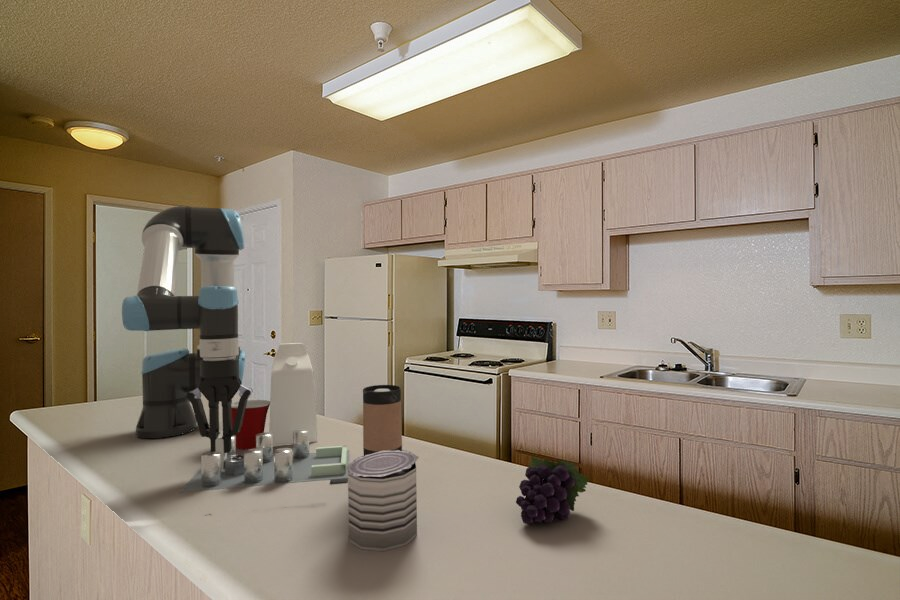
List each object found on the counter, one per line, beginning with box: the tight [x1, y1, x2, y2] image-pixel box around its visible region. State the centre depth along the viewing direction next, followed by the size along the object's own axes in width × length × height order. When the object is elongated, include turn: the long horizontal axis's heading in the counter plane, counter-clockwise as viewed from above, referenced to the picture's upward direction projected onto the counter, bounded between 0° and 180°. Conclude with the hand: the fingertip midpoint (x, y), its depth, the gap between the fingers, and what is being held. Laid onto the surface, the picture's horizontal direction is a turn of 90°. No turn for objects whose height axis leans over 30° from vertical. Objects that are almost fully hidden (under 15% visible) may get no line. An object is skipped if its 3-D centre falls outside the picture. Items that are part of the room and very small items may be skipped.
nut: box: [224, 453, 244, 476], centre depth 103 cm, size 5×4×3 cm
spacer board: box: [179, 449, 350, 493], centre depth 104 cm, size 18×32×1 cm, turn 101°
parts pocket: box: [311, 445, 348, 477], centre depth 107 cm, size 13×7×2 cm, turn 11°
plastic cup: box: [231, 399, 270, 451], centre depth 121 cm, size 11×11×12 cm
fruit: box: [515, 456, 590, 526], centre depth 82 cm, size 10×10×15 cm
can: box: [345, 449, 420, 552], centre depth 77 cm, size 11×11×12 cm
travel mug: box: [362, 384, 403, 456], centre depth 95 cm, size 8×8×20 cm
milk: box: [268, 342, 319, 447], centre depth 127 cm, size 12×12×26 cm
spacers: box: [200, 429, 310, 487], centre depth 104 cm, size 18×20×6 cm
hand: (221, 467), depth 102 cm, fingers closed
